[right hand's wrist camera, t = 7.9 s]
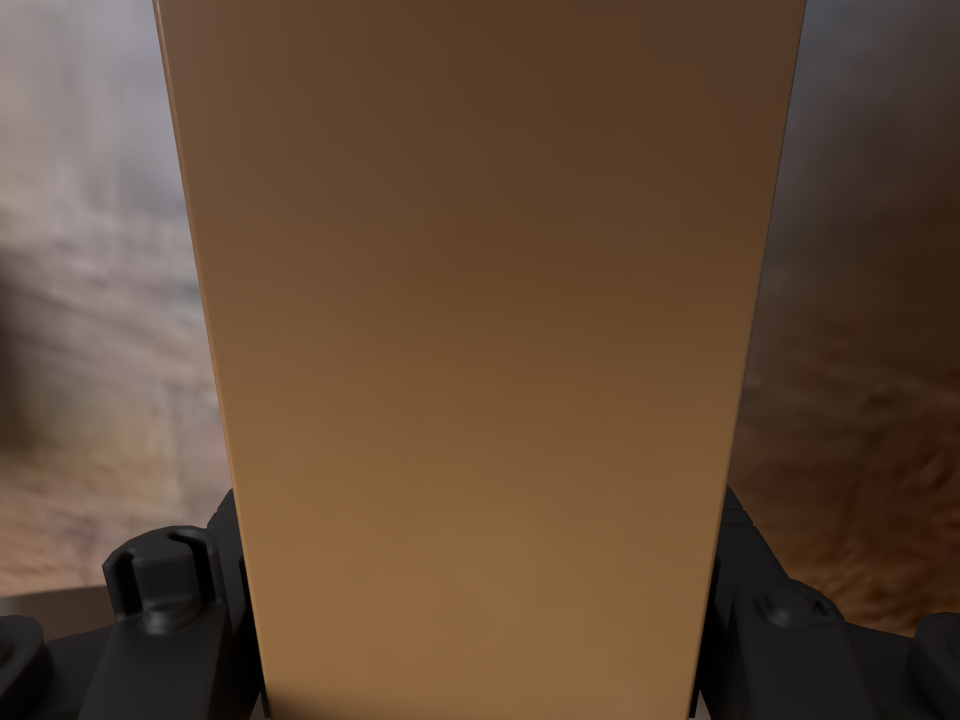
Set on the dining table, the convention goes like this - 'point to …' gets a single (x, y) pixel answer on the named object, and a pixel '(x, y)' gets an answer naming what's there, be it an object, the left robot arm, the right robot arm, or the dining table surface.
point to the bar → (479, 333)
